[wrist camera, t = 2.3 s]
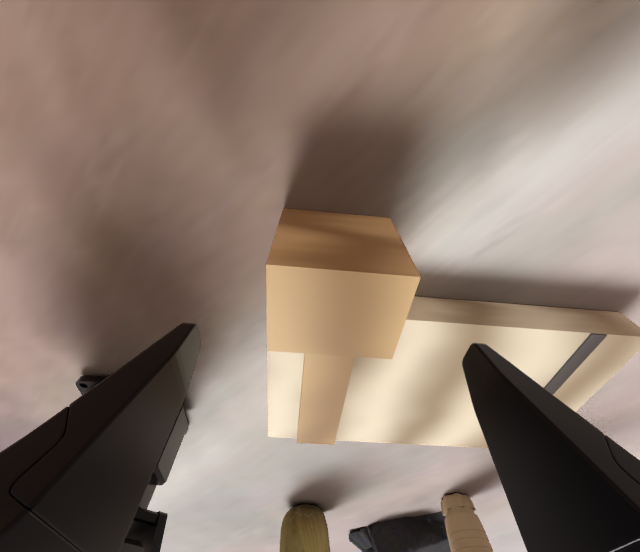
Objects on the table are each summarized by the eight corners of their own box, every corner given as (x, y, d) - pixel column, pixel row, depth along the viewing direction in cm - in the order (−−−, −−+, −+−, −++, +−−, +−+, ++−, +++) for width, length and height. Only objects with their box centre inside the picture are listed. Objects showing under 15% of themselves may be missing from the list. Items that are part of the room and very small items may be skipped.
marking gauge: (279, 364, 19) (268, 441, 15) (283, 207, 13) (265, 264, 9) (353, 369, 20) (361, 446, 15) (390, 217, 13) (421, 277, 9)
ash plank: (272, 410, 22) (268, 438, 20) (272, 285, 16) (266, 310, 14) (519, 424, 23) (535, 451, 21) (619, 312, 17) (654, 339, 15)
